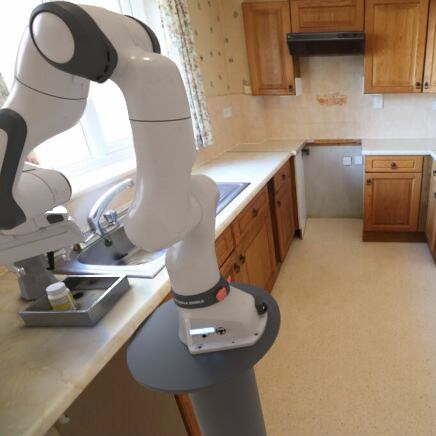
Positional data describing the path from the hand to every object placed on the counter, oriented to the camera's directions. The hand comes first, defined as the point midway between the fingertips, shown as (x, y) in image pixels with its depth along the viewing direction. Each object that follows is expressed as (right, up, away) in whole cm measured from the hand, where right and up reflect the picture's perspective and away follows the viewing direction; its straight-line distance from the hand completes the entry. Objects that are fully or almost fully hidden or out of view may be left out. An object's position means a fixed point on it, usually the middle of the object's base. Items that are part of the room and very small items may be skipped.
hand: (45, 268), depth 84 cm
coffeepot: (-13, -9, +15) cm, 22 cm away
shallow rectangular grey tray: (+3, -12, +8) cm, 15 cm away
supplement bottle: (+1, -13, +6) cm, 14 cm away
